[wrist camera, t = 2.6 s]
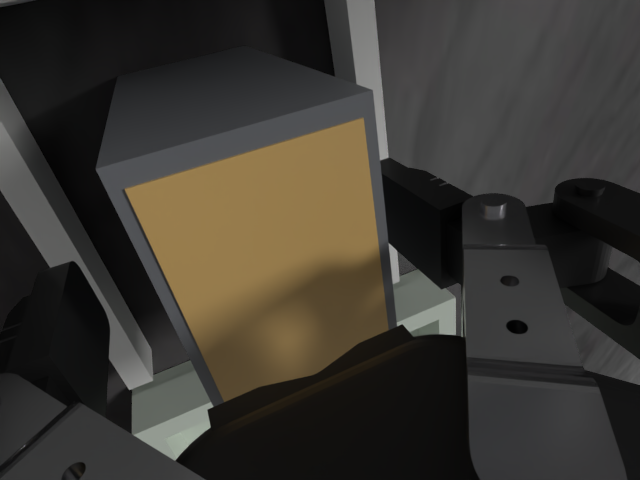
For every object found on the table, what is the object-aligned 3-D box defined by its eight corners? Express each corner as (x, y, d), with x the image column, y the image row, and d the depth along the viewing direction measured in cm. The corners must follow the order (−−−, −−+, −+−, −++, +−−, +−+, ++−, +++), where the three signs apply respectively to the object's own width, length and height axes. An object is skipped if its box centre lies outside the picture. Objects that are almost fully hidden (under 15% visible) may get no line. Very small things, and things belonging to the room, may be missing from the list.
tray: (422, 267, 24) (455, 297, 21) (432, 462, 34) (455, 497, 32) (132, 383, 20) (131, 435, 18) (244, 560, 31) (253, 608, 28)
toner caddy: (244, 45, 15) (374, 90, 7) (291, 231, 20) (405, 394, 11) (117, 75, 14) (95, 169, 6) (195, 264, 19) (244, 469, 10)
